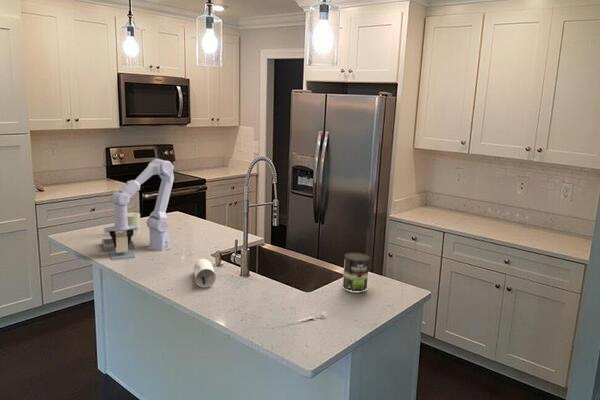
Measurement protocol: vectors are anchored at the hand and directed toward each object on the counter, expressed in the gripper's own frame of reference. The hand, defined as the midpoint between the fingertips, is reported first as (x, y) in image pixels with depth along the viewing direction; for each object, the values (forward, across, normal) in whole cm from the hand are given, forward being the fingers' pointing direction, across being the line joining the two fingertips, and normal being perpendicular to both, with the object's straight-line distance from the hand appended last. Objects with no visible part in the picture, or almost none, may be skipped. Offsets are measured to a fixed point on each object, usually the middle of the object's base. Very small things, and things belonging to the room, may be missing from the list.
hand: (121, 246), depth 220 cm
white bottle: (+5, -26, +40) cm, 48 cm away
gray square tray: (+5, 0, -14) cm, 15 cm away
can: (+5, -9, -33) cm, 35 cm away
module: (+2, 0, 0) cm, 2 cm away
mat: (+5, 0, 0) cm, 5 cm away
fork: (+6, -48, +89) cm, 101 cm away
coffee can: (+5, -82, +71) cm, 109 cm away
